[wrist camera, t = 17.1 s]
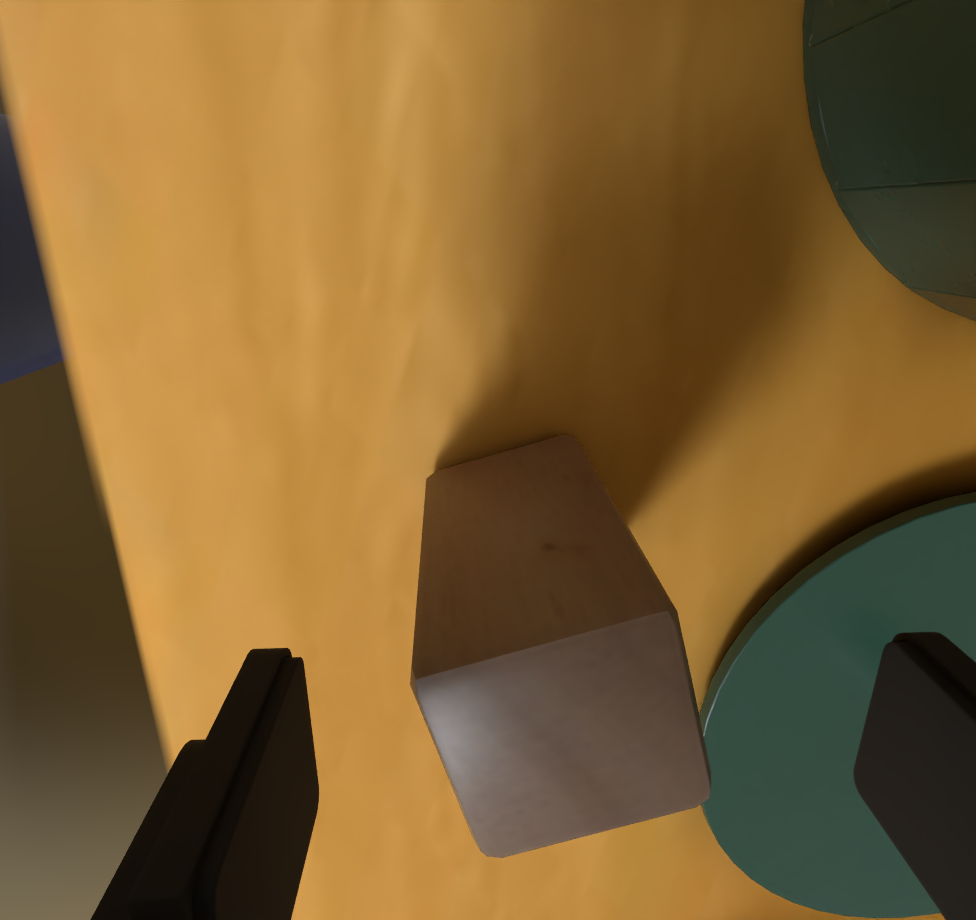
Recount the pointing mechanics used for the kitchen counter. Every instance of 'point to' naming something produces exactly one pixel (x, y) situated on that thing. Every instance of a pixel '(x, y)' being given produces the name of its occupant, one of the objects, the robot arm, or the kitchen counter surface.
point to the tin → (900, 134)
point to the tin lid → (830, 710)
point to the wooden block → (549, 655)
